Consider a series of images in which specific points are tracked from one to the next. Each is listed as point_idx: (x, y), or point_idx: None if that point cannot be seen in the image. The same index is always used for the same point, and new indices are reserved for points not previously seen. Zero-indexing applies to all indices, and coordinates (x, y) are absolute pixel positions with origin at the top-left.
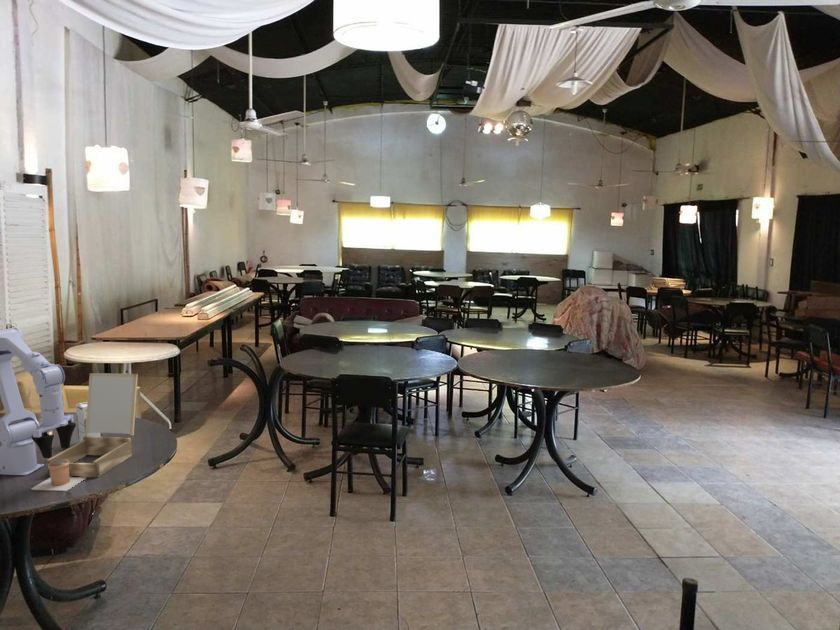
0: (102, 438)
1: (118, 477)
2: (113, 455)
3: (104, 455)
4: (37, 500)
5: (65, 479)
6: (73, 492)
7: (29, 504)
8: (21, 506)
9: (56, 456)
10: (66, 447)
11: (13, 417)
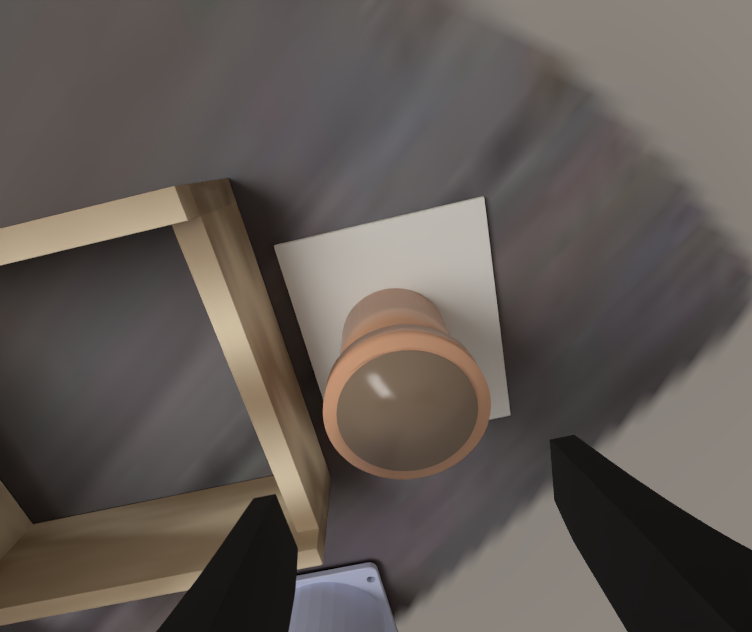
0: None
1: (147, 4)
2: None
3: (28, 246)
4: (629, 258)
5: (403, 299)
6: (484, 131)
7: (685, 254)
8: (713, 275)
9: None
10: (278, 515)
11: None
